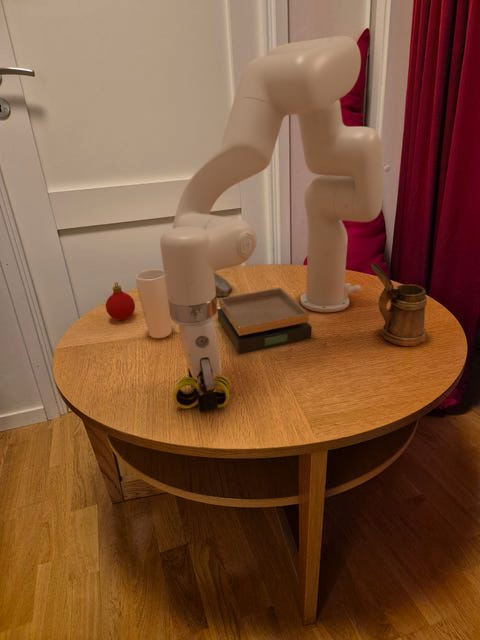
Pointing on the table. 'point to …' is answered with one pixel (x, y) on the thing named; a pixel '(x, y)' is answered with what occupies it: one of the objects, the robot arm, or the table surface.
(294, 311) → the scale pan
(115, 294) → the christmas ornament
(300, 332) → the scale
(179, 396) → the opera glasses
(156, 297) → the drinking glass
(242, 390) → the table surface
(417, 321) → the wooden mug
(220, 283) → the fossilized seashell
